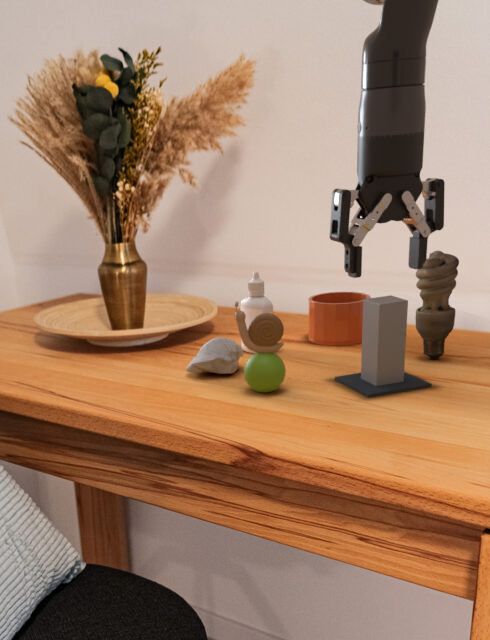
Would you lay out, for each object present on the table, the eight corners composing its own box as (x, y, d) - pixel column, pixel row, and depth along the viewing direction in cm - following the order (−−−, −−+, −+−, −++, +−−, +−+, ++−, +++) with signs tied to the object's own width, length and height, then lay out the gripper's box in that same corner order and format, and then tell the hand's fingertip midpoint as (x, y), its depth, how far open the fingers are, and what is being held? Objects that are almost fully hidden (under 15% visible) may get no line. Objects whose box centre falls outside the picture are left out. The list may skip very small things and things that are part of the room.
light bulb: (422, 366, 117) (429, 255, 110) (403, 357, 121) (408, 250, 115) (459, 361, 118) (468, 250, 111) (438, 352, 122) (446, 246, 116)
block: (387, 374, 113) (391, 295, 108) (403, 381, 109) (408, 300, 105) (360, 378, 112) (363, 299, 107) (376, 386, 108) (379, 304, 104)
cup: (350, 329, 139) (351, 289, 137) (380, 340, 131) (381, 298, 128) (298, 336, 137) (298, 296, 135) (325, 349, 129) (326, 306, 126)
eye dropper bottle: (247, 356, 128) (245, 276, 123) (239, 348, 133) (237, 270, 128) (275, 353, 129) (274, 273, 124) (266, 345, 134) (265, 268, 129)
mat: (393, 371, 116) (393, 367, 115) (431, 388, 108) (431, 383, 107) (334, 381, 114) (334, 376, 113) (368, 398, 106) (368, 394, 105)
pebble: (242, 380, 117) (241, 344, 115) (184, 382, 118) (182, 347, 116) (244, 363, 125) (243, 330, 123) (190, 365, 126) (188, 332, 124)
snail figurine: (237, 387, 114) (234, 298, 109) (284, 385, 114) (284, 295, 109) (236, 399, 110) (233, 306, 105) (286, 397, 109) (285, 303, 104)
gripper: (351, 136, 93) (348, 284, 100) (463, 124, 96) (453, 269, 103) (320, 136, 100) (319, 275, 107) (426, 125, 103) (419, 261, 110)
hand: (385, 272), depth 105 cm, fingers open, 8 cm apart
